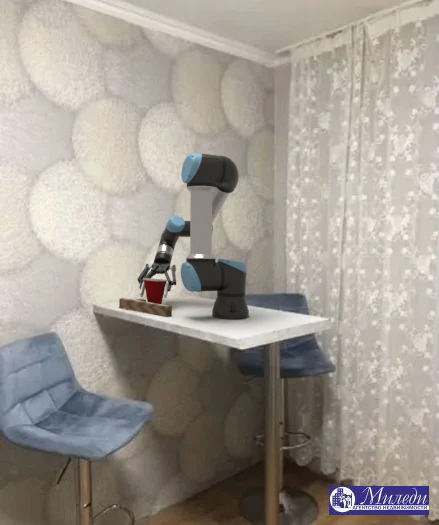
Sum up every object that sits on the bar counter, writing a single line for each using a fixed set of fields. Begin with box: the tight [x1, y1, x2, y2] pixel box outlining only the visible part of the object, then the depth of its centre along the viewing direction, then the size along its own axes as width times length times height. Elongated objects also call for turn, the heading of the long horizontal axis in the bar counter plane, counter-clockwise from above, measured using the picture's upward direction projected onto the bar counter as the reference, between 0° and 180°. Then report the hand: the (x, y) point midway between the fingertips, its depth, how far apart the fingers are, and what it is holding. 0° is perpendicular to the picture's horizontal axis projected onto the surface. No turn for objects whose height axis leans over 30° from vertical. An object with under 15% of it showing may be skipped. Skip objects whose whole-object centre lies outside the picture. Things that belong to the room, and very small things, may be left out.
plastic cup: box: [143, 277, 168, 305], centre depth 206 cm, size 11×11×12 cm
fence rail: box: [118, 297, 173, 318], centre depth 202 cm, size 29×11×4 cm, turn 51°
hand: (152, 295), depth 203 cm, fingers closed on plastic cup, 10 cm apart
